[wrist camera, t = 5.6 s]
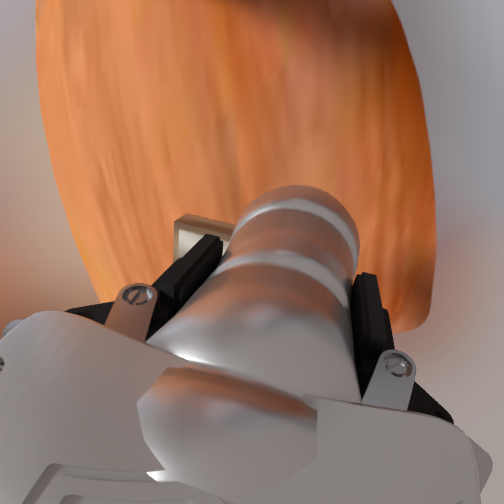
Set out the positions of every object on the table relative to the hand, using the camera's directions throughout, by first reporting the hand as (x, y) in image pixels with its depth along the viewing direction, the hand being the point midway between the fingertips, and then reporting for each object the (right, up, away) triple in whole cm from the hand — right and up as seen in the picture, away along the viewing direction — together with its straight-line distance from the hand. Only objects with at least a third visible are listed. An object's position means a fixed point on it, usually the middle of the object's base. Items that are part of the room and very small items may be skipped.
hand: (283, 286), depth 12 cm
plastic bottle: (+2, +3, +6) cm, 7 cm away
